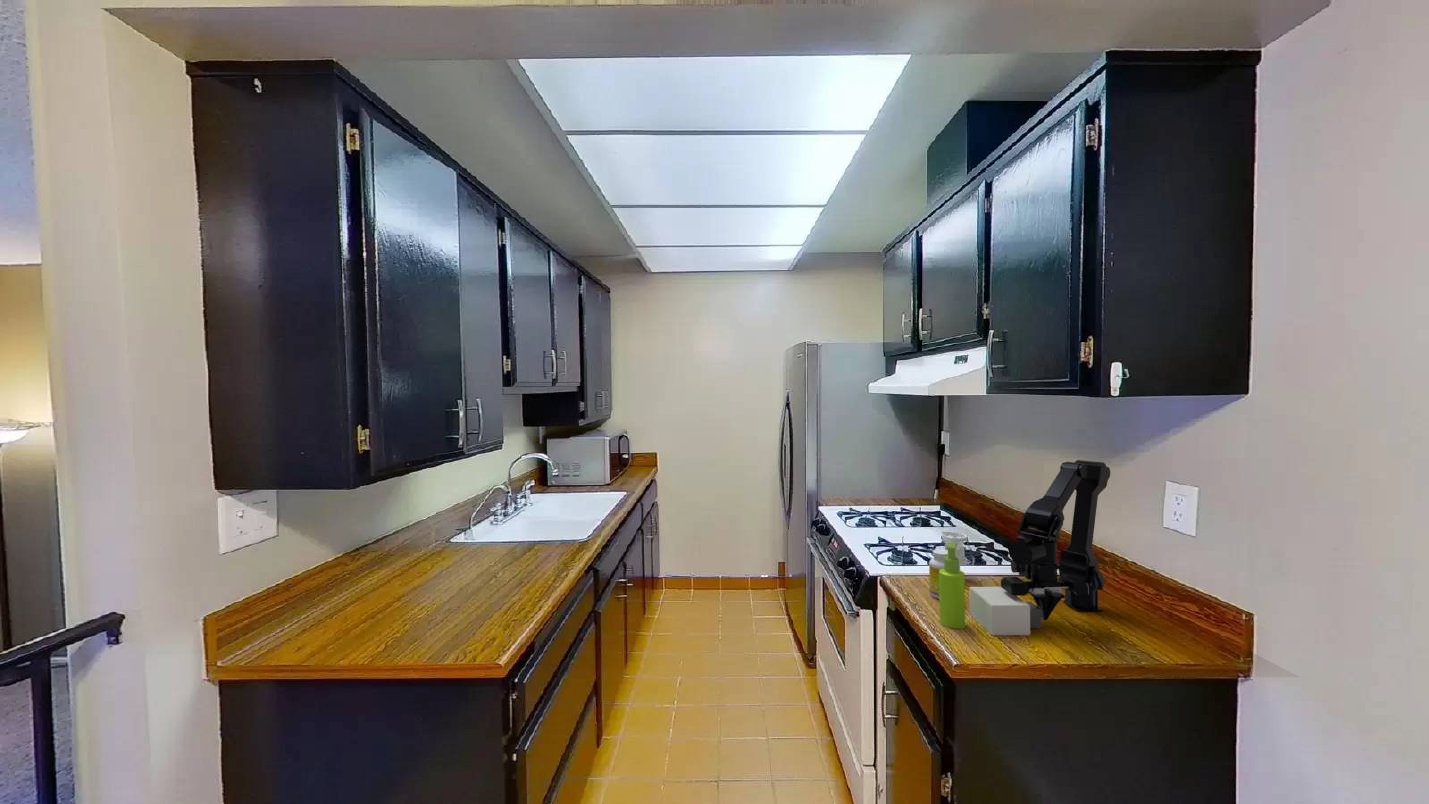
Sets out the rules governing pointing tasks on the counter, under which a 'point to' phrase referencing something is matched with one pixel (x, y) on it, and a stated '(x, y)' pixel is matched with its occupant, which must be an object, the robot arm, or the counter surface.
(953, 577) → the soap dispenser
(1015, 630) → the light grey rectangular block
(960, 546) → the white tall piece
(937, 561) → the supplement bottle
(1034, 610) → the plug
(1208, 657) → the counter surface
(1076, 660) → the counter surface
